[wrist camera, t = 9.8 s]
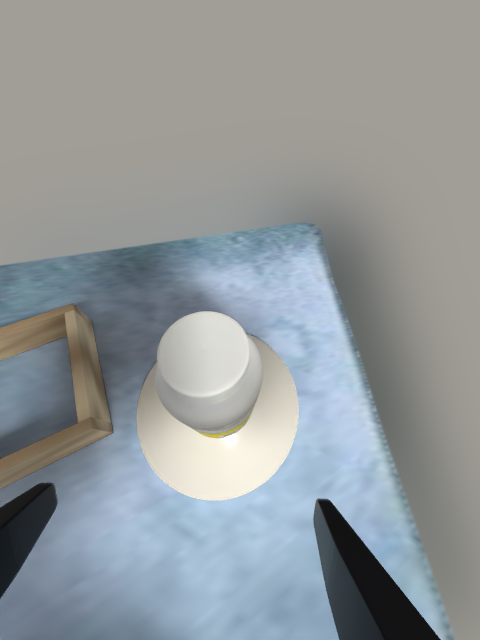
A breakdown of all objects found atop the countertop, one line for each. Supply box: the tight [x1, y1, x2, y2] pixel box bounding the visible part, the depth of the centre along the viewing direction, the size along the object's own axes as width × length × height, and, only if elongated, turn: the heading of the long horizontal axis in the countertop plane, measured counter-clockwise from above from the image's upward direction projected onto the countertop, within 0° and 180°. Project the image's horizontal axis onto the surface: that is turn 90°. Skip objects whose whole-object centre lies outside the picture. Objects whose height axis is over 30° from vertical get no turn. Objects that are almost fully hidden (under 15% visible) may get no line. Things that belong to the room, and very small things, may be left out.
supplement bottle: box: [155, 311, 263, 438], centre depth 14 cm, size 6×6×10 cm
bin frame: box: [0, 304, 113, 488], centre depth 17 cm, size 12×12×3 cm
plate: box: [137, 334, 299, 500], centre depth 18 cm, size 13×13×1 cm
